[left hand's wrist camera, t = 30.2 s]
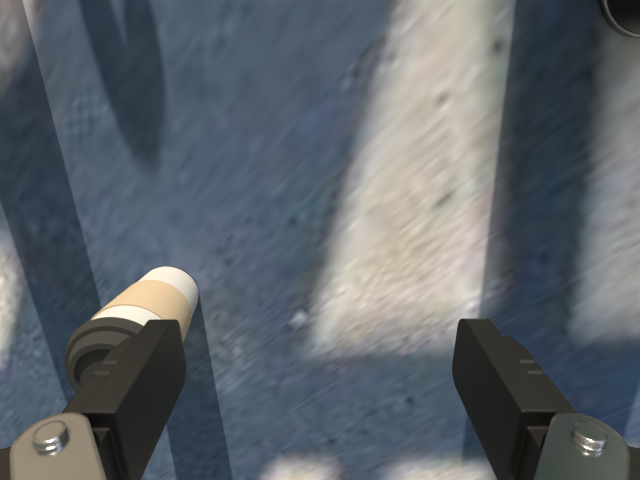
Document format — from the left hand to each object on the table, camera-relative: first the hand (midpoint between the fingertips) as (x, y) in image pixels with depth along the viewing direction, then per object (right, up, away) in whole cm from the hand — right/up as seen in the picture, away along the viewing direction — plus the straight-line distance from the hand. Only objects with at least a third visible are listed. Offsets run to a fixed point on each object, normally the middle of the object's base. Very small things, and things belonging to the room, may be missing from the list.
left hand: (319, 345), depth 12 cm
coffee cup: (-18, -3, +36) cm, 40 cm away
